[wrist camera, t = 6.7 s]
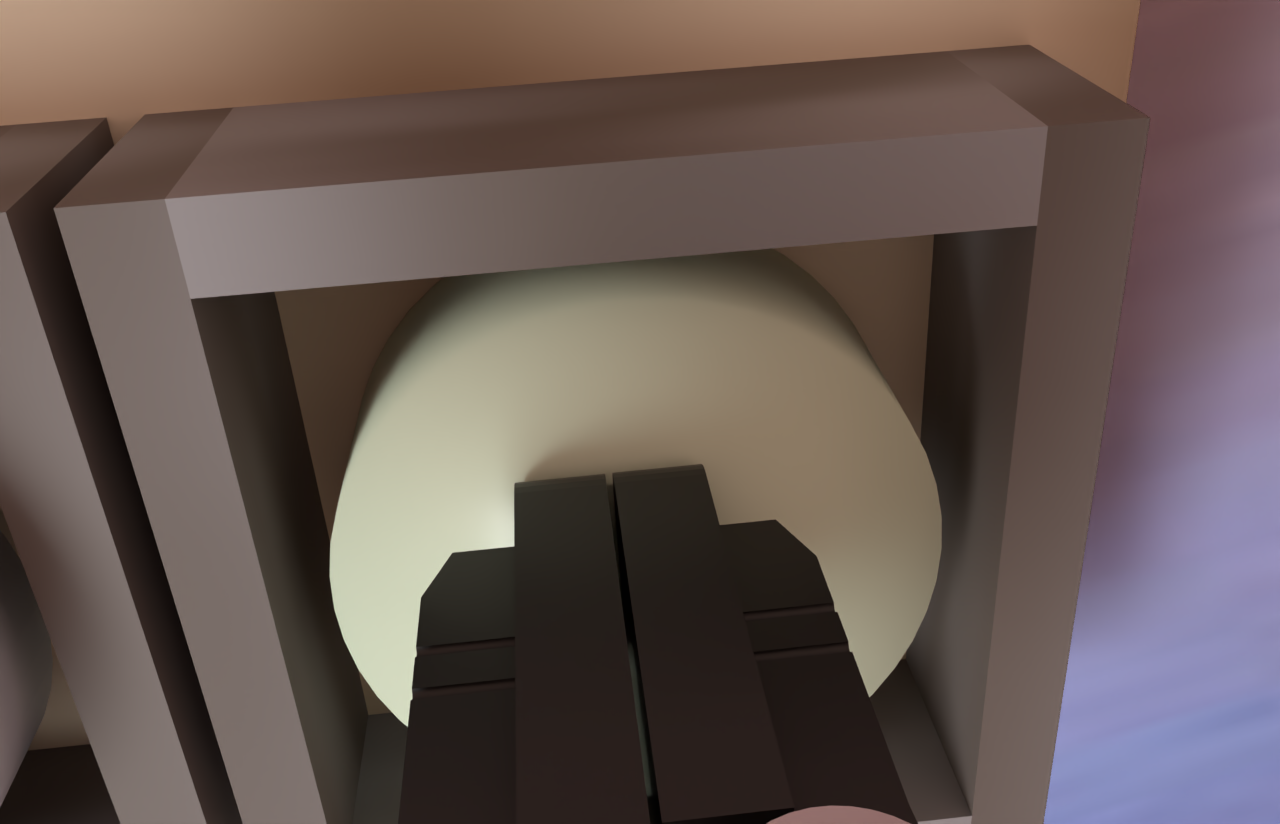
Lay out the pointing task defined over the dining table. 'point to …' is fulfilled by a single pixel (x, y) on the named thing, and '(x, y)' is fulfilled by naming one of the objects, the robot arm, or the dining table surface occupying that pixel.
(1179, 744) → the dining table surface
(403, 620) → the button sage
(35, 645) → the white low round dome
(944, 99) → the button panel
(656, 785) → the robot arm
